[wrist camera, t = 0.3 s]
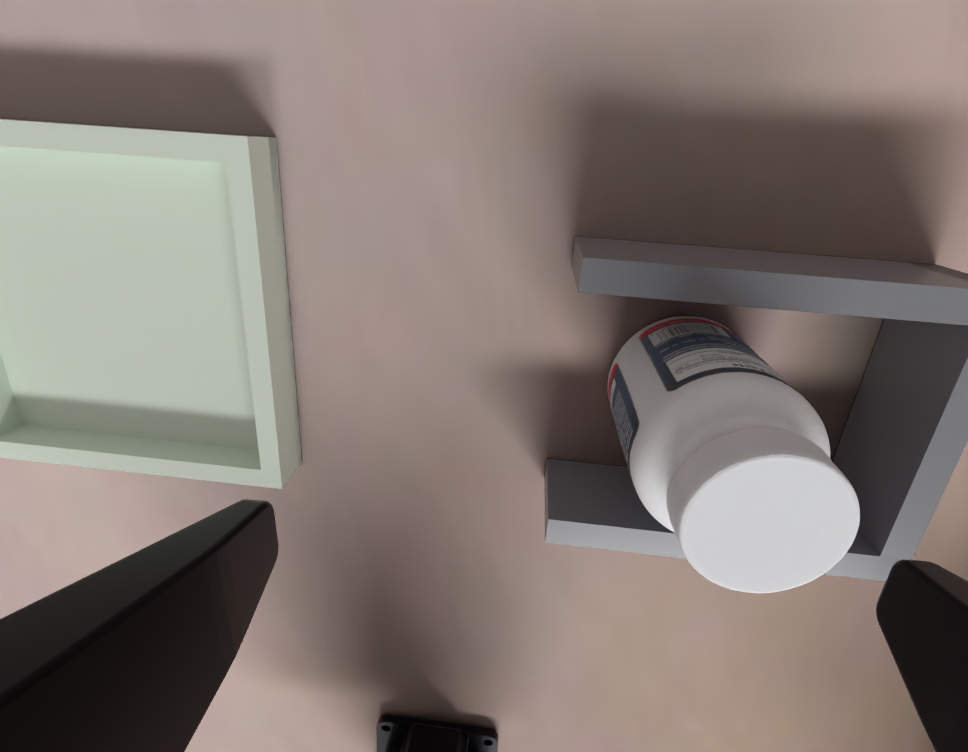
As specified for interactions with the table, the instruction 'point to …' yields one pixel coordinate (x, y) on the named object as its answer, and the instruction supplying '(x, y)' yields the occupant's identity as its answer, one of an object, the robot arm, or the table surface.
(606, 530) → the dock
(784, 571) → the pill bottle
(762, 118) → the table surface
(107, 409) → the tray
